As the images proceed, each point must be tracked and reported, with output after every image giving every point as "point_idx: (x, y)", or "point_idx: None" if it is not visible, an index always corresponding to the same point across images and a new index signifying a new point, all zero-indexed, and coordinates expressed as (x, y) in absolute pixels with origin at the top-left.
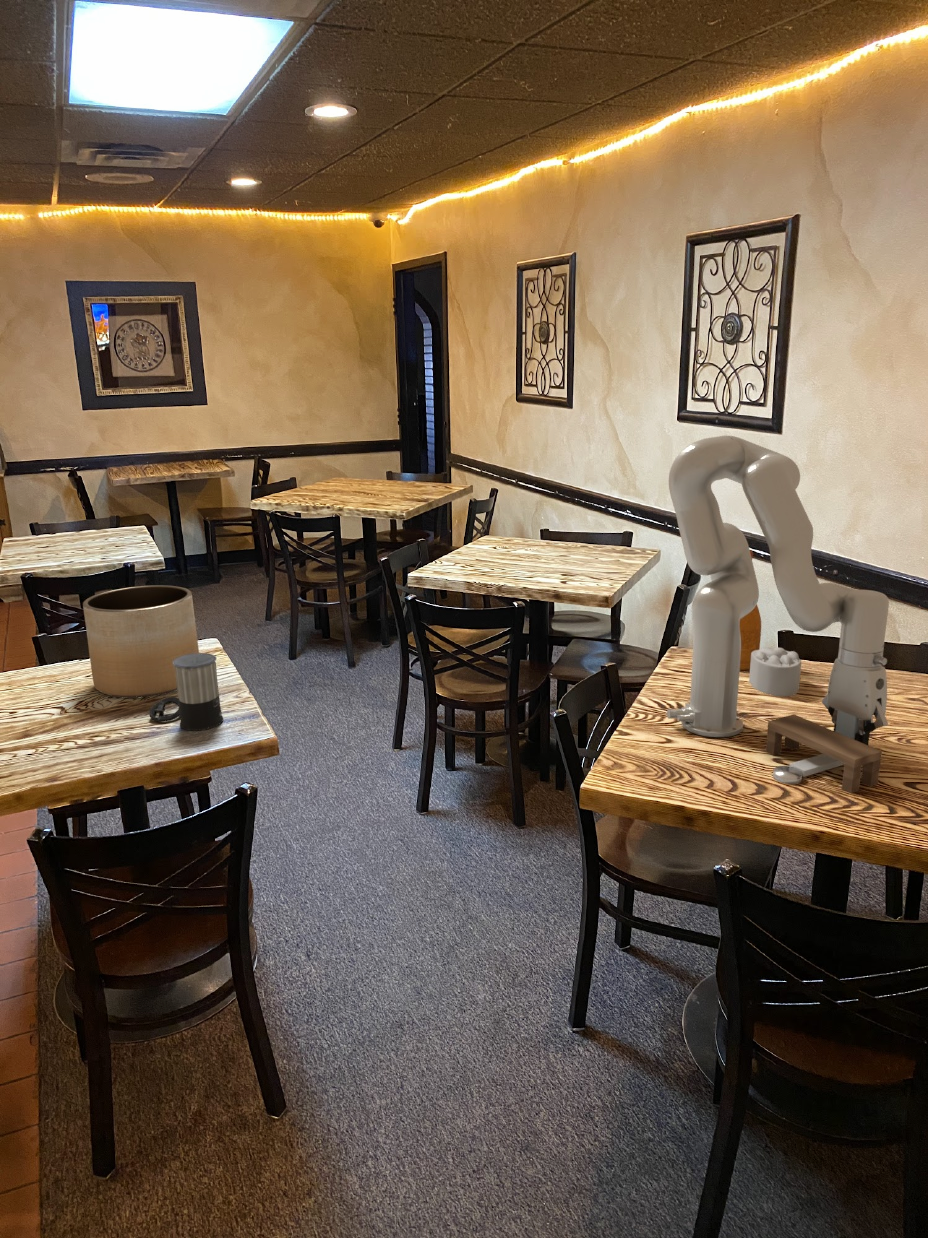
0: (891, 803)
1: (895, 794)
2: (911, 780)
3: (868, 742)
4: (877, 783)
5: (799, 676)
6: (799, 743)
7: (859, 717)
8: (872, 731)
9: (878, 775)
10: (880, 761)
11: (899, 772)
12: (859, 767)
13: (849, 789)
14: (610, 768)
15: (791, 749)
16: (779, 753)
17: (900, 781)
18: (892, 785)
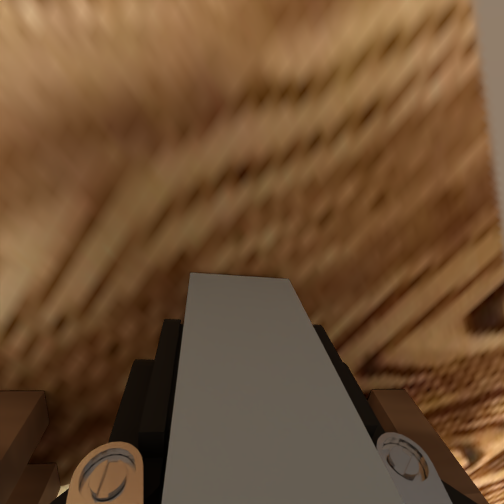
0: (464, 434)
1: (462, 395)
2: (486, 285)
3: (357, 386)
4: (406, 393)
5: None
6: (31, 411)
7: None
8: (414, 445)
9: (426, 421)
10: (470, 481)
11: (435, 262)
12: None
13: None
14: None
15: (45, 424)
16: (56, 470)
17: (455, 320)
18: (441, 361)
